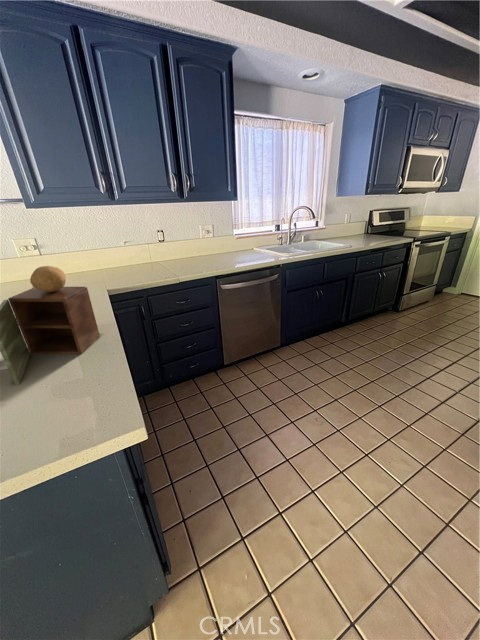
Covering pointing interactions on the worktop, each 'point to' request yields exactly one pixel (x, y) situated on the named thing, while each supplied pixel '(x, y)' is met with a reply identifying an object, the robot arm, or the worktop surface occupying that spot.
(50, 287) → the potato
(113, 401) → the worktop surface
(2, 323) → the cupboard door
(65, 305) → the cupboard
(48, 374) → the worktop surface
